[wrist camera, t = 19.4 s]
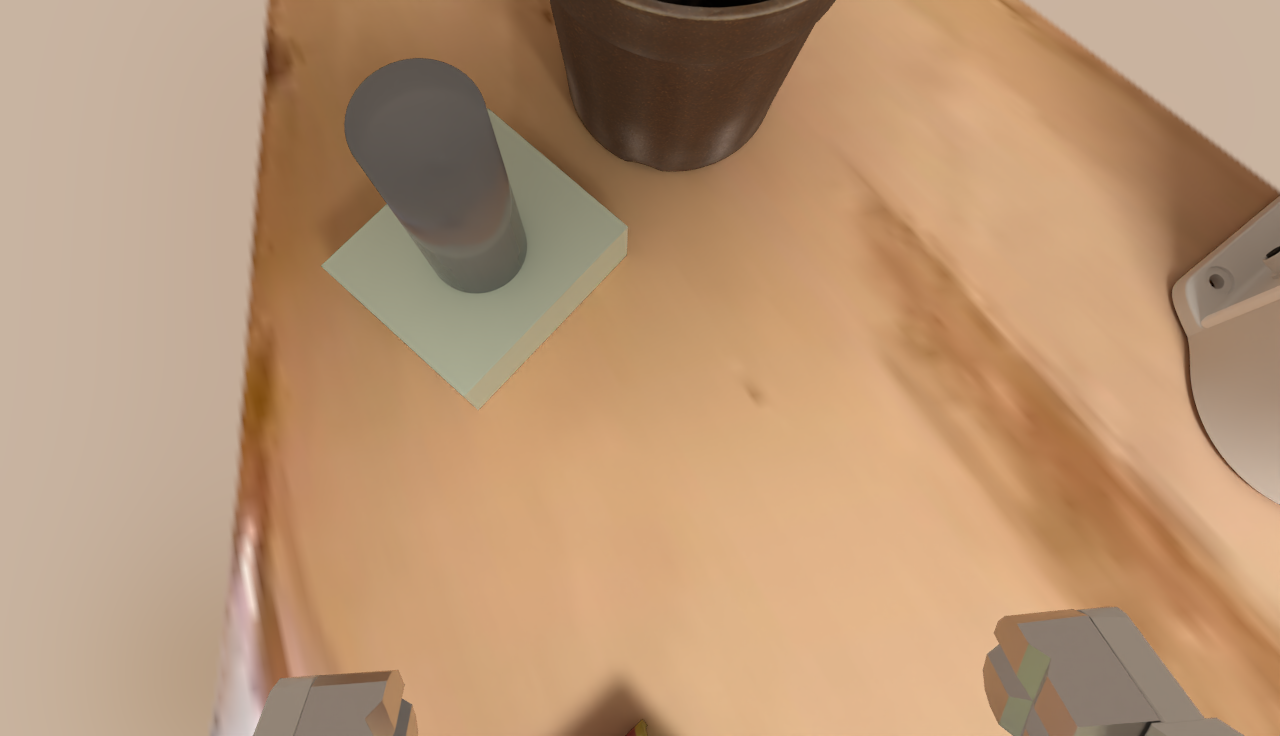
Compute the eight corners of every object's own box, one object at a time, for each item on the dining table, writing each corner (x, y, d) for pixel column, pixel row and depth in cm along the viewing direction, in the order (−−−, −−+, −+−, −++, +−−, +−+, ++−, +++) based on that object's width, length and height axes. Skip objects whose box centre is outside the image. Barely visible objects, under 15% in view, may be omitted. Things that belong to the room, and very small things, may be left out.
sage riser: (499, 146, 44) (488, 108, 40) (626, 255, 43) (627, 226, 39) (348, 291, 42) (320, 265, 38) (478, 410, 40) (463, 396, 37)
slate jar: (477, 182, 39) (416, 33, 27) (547, 243, 38) (516, 118, 27) (407, 249, 38) (314, 124, 26) (478, 313, 37) (415, 214, 26)
